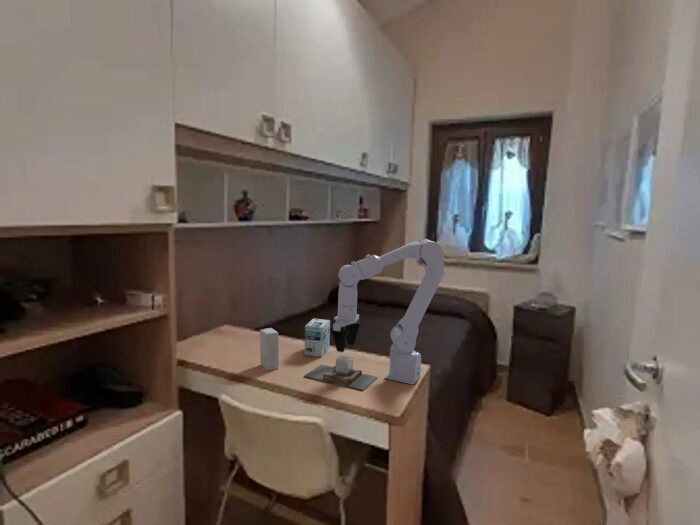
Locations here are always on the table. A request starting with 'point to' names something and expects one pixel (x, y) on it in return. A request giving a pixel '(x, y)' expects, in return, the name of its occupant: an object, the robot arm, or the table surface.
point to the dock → (341, 377)
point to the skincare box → (269, 349)
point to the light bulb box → (317, 337)
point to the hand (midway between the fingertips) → (345, 347)
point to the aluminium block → (344, 366)
